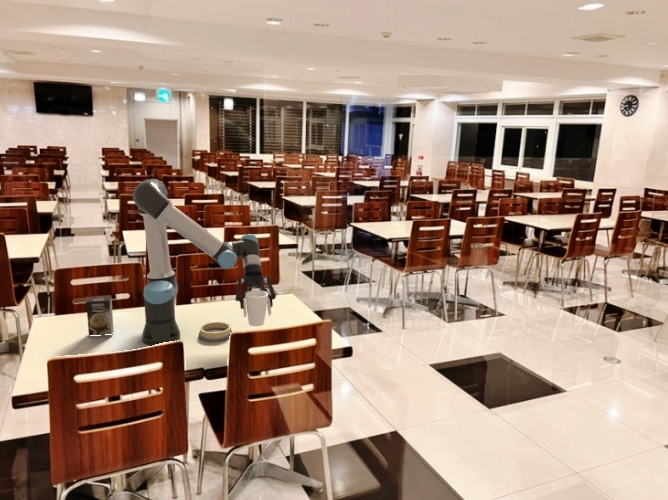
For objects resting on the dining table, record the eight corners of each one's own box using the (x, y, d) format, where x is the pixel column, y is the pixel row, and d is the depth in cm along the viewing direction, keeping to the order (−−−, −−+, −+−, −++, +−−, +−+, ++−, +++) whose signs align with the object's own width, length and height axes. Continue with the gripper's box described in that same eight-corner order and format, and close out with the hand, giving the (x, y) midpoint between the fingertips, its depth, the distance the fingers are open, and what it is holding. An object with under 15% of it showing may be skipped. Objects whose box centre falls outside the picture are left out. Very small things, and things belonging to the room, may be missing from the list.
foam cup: (269, 320, 221) (270, 291, 218) (264, 328, 212) (265, 298, 209) (248, 318, 222) (248, 289, 219) (242, 326, 213) (242, 296, 210)
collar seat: (199, 343, 212) (199, 335, 211) (197, 330, 225) (197, 322, 224) (234, 340, 216) (234, 331, 216) (230, 327, 229) (230, 320, 229)
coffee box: (88, 338, 214) (85, 301, 210) (91, 333, 220) (88, 296, 216) (112, 337, 216) (109, 300, 213) (114, 331, 222) (111, 295, 219)
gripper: (276, 270, 230) (282, 317, 219) (225, 272, 223) (229, 320, 212) (279, 262, 224) (285, 309, 213) (227, 263, 217) (231, 312, 206)
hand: (257, 314), depth 213 cm, fingers closed on foam cup, 9 cm apart
